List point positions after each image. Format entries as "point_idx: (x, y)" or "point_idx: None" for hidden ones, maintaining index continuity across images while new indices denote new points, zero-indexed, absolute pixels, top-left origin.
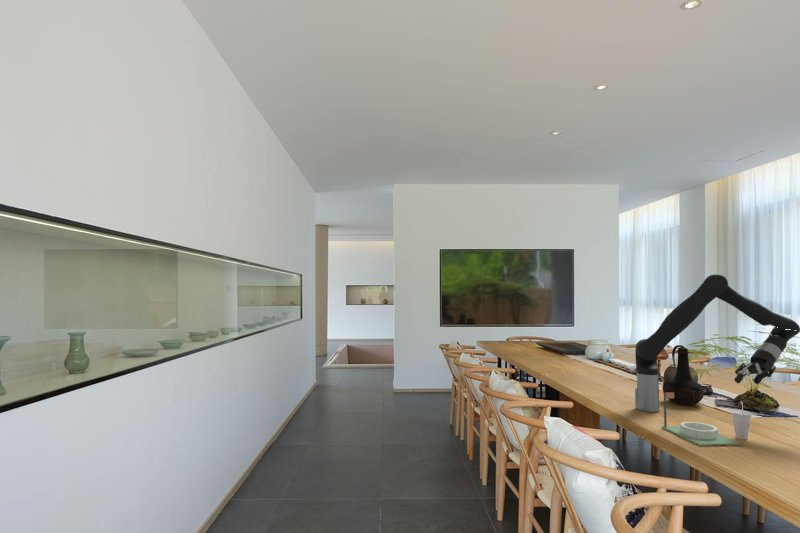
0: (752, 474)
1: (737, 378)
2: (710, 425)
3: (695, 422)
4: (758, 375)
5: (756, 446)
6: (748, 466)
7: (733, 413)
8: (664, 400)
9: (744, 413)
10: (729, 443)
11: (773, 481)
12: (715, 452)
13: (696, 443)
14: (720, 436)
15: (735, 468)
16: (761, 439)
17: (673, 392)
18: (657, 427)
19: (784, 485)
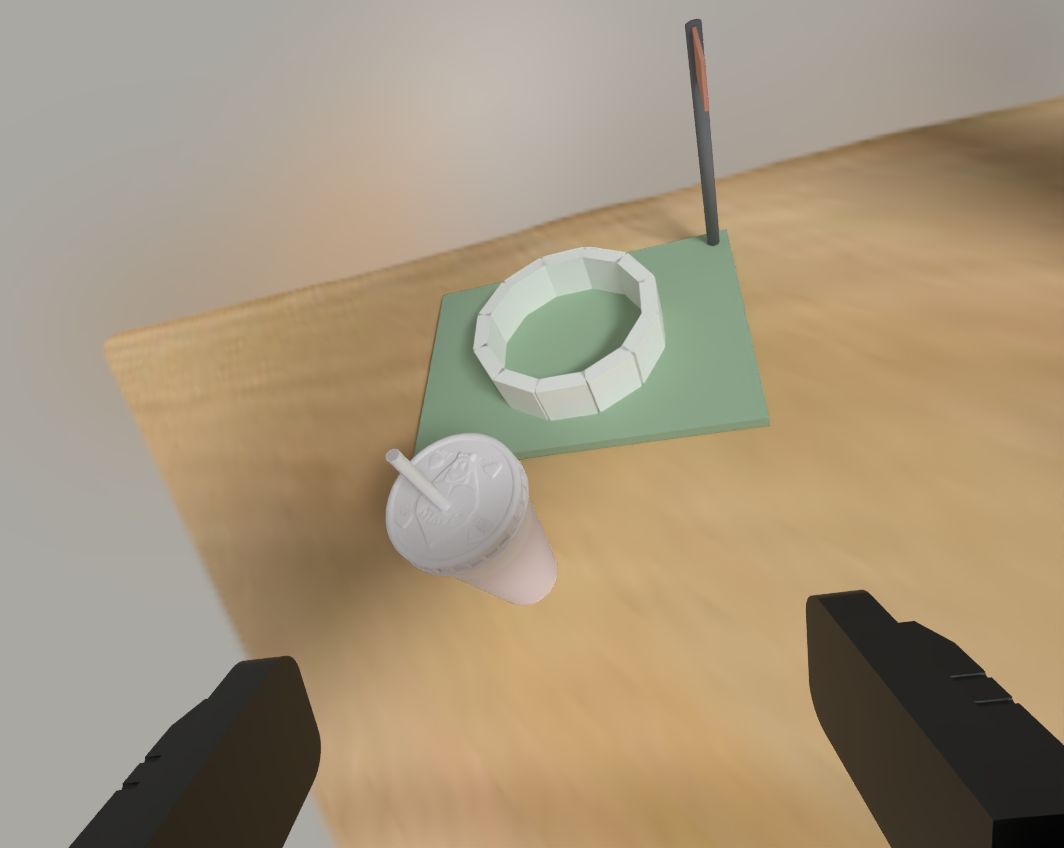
0: (215, 343)
1: (842, 652)
2: (575, 380)
3: (645, 327)
4: (106, 842)
5: (386, 546)
6: (253, 365)
7: (464, 438)
8: (693, 84)
9: (417, 500)
10: (422, 412)
11: (165, 369)
12: (380, 327)
13: (464, 293)
14: (524, 429)
15: (261, 322)
16: (479, 695)
17: (702, 58)
18: (739, 225)
19: (140, 380)
